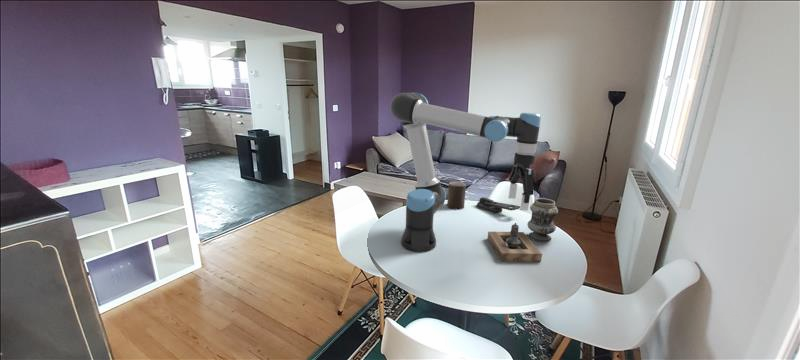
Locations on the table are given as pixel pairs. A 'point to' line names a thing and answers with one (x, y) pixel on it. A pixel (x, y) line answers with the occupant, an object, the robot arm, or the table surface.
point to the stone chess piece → (513, 238)
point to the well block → (524, 252)
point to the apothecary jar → (542, 219)
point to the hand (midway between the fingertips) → (517, 203)
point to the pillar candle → (456, 195)
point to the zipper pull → (494, 205)
